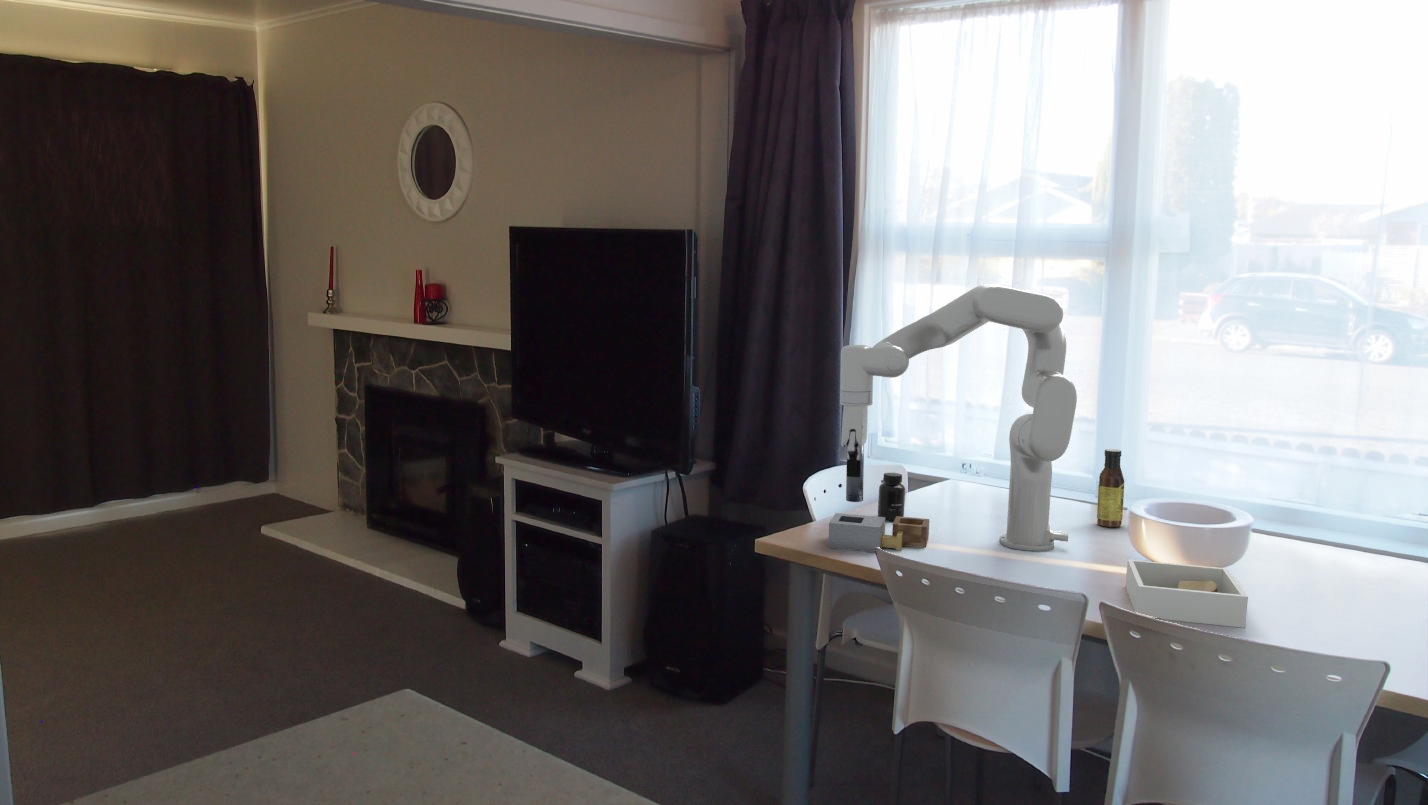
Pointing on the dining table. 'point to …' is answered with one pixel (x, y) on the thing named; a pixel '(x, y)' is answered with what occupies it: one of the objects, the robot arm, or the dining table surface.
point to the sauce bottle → (1111, 491)
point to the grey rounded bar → (855, 482)
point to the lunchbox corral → (1185, 593)
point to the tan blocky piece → (893, 541)
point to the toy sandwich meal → (1198, 585)
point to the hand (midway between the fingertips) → (855, 473)
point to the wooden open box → (912, 530)
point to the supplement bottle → (891, 497)
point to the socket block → (856, 532)
